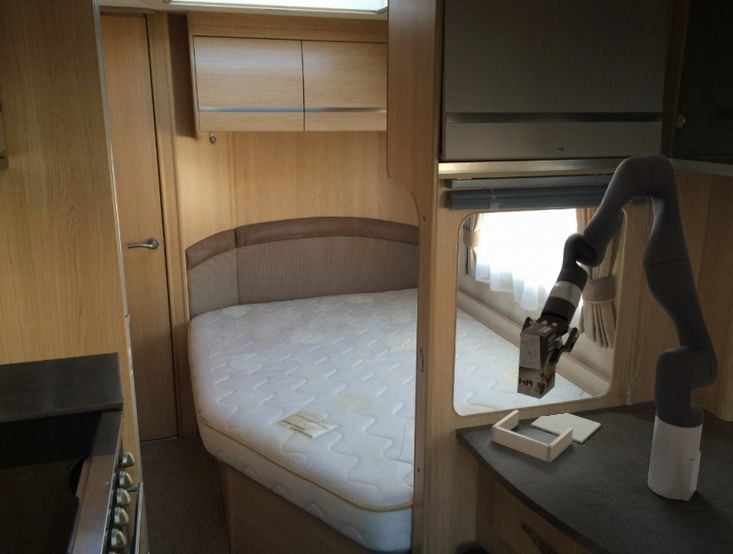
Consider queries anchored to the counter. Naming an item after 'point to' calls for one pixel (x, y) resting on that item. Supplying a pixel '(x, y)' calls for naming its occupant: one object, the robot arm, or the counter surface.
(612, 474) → the counter surface
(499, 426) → the u-shaped box cradle
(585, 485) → the counter surface
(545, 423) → the mat
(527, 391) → the coffee box
